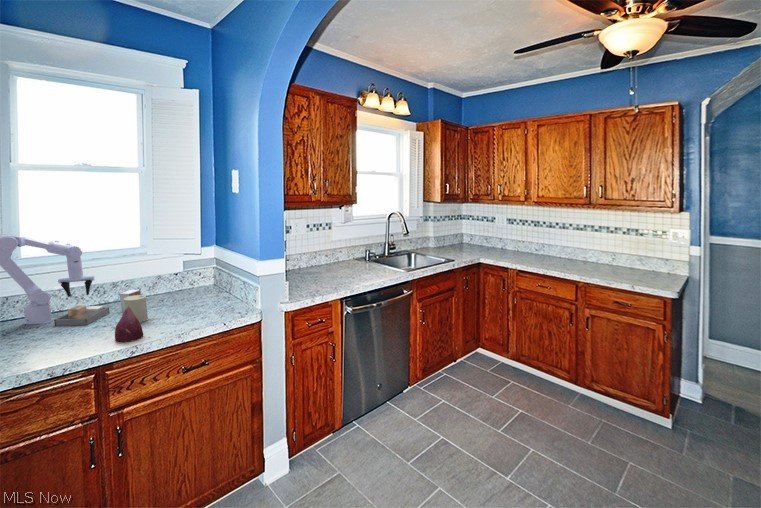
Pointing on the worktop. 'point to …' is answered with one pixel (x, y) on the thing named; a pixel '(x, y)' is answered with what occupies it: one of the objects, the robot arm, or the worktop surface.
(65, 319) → the tray
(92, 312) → the white box
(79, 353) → the worktop surface
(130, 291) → the small box
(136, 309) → the can
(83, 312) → the wood block
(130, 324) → the vegetable
